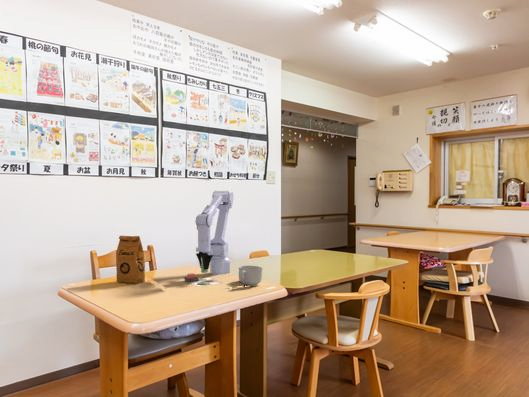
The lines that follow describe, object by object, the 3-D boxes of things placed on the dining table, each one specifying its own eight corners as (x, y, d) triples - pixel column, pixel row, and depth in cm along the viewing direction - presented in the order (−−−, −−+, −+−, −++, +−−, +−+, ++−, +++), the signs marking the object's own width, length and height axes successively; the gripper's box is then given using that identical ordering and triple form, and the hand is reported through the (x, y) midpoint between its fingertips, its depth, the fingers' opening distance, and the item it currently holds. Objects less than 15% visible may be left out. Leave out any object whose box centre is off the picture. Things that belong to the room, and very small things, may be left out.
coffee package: (135, 285, 176) (134, 237, 175) (113, 283, 180) (112, 236, 180) (148, 281, 185) (148, 234, 185) (127, 279, 189) (127, 234, 189)
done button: (193, 277, 180) (193, 273, 180) (195, 278, 178) (195, 274, 178) (187, 278, 179) (187, 274, 179) (189, 279, 176) (189, 275, 176)
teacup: (248, 281, 184) (248, 264, 184) (267, 283, 177) (267, 266, 177) (229, 286, 172) (229, 268, 172) (248, 290, 166) (248, 271, 166)
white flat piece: (209, 279, 187) (209, 273, 187) (224, 285, 174) (224, 279, 174) (183, 283, 179) (183, 277, 179) (197, 289, 167) (197, 283, 167)
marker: (206, 271, 184) (206, 256, 184) (209, 272, 181) (209, 257, 181) (199, 272, 182) (199, 257, 182) (202, 273, 180) (202, 258, 180)
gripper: (190, 238, 186) (190, 267, 186) (202, 241, 174) (203, 272, 174) (203, 237, 190) (203, 265, 190) (217, 240, 177) (217, 270, 178)
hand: (204, 268), depth 182 cm, fingers closed on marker, 3 cm apart
